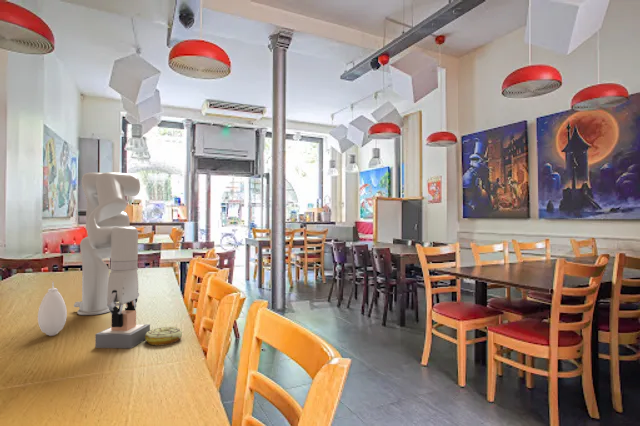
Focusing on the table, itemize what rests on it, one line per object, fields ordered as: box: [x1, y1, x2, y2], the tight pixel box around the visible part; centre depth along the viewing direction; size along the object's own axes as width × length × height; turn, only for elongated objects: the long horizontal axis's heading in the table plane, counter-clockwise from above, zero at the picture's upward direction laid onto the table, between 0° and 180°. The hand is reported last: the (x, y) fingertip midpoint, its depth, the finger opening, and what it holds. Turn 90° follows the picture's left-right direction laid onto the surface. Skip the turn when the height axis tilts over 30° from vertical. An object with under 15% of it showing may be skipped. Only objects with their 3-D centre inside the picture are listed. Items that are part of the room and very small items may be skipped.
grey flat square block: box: [94, 323, 151, 349], centre depth 117 cm, size 11×11×4 cm
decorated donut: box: [145, 326, 183, 346], centre depth 118 cm, size 10×11×4 cm
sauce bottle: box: [37, 281, 68, 337], centre depth 124 cm, size 8×8×18 cm
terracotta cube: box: [110, 309, 137, 331], centre depth 117 cm, size 5×5×5 cm
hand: (123, 323), depth 117 cm, fingers open, 6 cm apart
